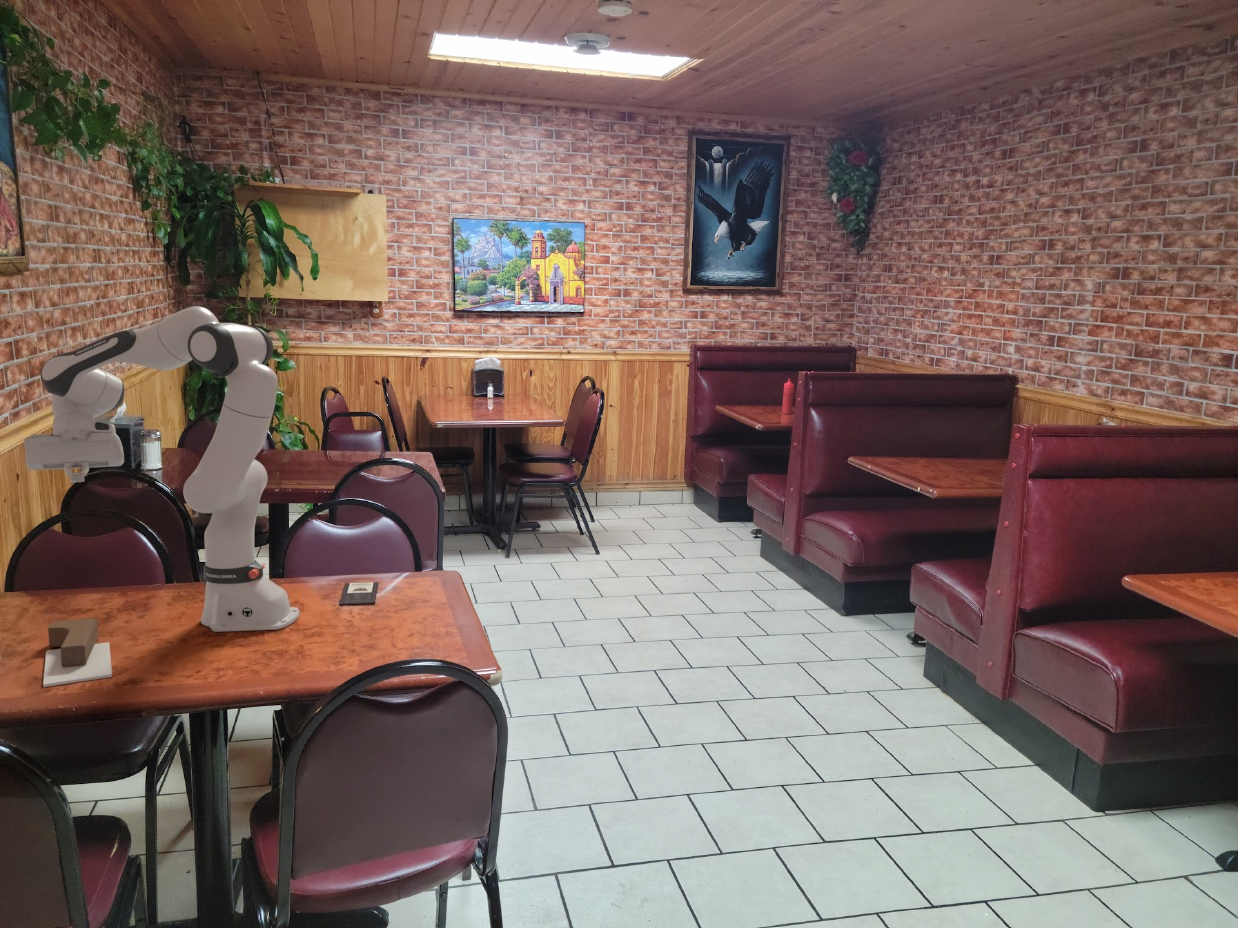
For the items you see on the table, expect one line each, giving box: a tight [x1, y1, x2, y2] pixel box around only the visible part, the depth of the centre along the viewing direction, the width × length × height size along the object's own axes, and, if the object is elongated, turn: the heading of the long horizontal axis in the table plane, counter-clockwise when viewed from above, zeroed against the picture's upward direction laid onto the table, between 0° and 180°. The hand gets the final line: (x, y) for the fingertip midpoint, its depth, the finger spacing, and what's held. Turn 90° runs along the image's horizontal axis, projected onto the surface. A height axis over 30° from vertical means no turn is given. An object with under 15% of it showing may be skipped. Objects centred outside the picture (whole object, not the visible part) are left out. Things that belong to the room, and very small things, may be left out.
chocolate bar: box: [338, 581, 379, 607], centre depth 245 cm, size 9×1×18 cm
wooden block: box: [47, 617, 99, 667], centre depth 198 cm, size 9×4×18 cm
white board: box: [42, 641, 113, 688], centre depth 193 cm, size 20×12×1 cm, turn 30°
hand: (77, 480), depth 215 cm, fingers closed
